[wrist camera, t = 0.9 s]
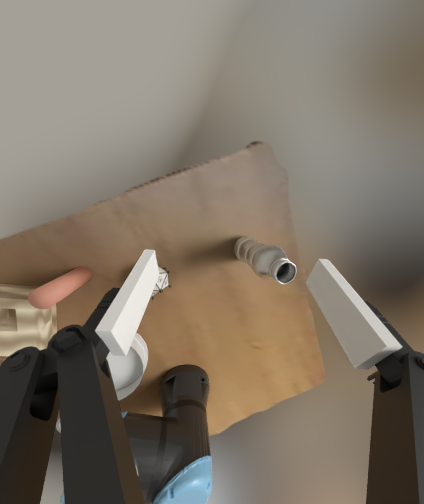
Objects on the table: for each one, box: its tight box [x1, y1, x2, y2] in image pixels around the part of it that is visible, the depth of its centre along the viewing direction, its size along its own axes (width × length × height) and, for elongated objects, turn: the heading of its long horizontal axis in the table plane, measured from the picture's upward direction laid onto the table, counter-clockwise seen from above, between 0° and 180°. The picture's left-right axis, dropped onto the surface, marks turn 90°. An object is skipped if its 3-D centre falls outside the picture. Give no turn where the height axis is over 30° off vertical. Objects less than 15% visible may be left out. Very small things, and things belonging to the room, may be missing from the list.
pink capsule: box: [28, 267, 92, 309], centre depth 35 cm, size 4×4×12 cm
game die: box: [151, 266, 172, 300], centre depth 39 cm, size 9×8×10 cm
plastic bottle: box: [234, 236, 297, 284], centre depth 35 cm, size 6×7×20 cm
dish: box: [106, 333, 148, 401], centre depth 44 cm, size 22×22×5 cm
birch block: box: [0, 283, 57, 356], centre depth 38 cm, size 14×12×6 cm
